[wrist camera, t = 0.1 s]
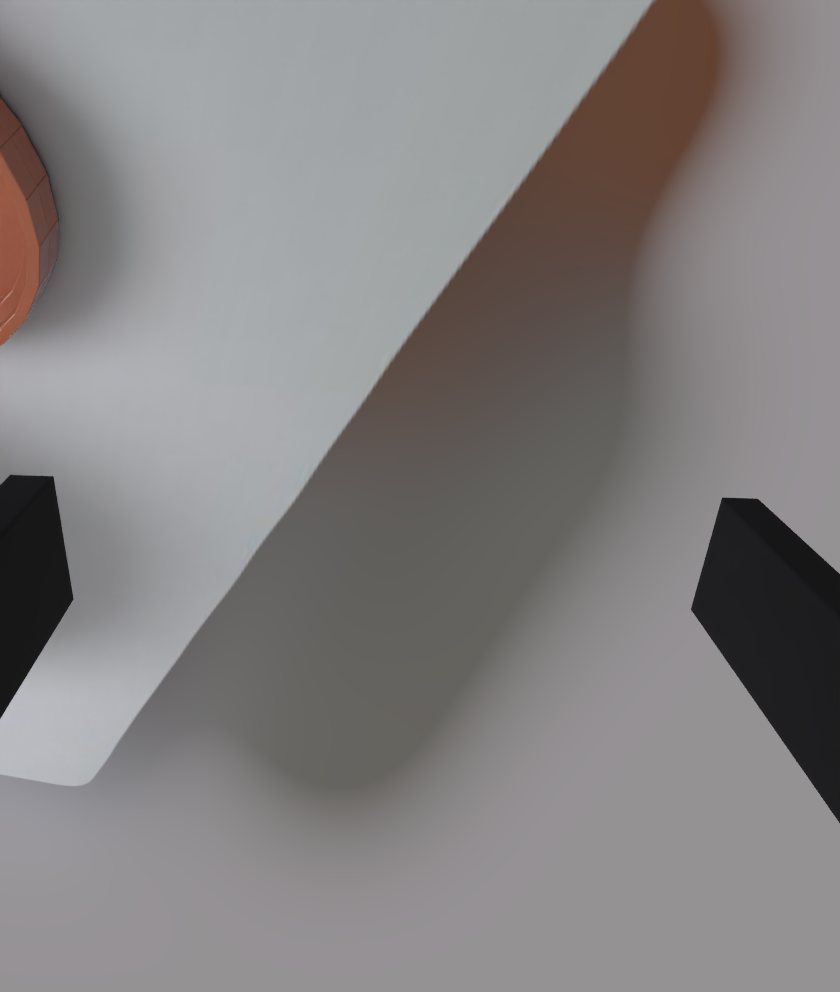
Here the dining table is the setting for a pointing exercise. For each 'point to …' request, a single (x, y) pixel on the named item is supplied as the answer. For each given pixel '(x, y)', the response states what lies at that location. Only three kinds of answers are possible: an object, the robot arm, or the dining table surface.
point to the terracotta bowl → (23, 225)
